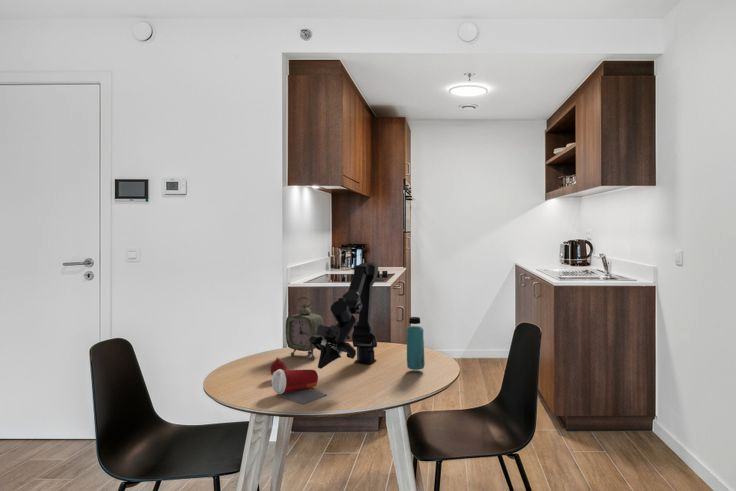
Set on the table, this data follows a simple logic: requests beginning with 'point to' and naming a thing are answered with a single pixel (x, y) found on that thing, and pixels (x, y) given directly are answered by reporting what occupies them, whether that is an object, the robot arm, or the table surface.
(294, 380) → the paper cup
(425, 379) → the table surface
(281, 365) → the red rounded piece
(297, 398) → the mat
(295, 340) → the tabletop clock
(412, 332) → the beverage bottle
